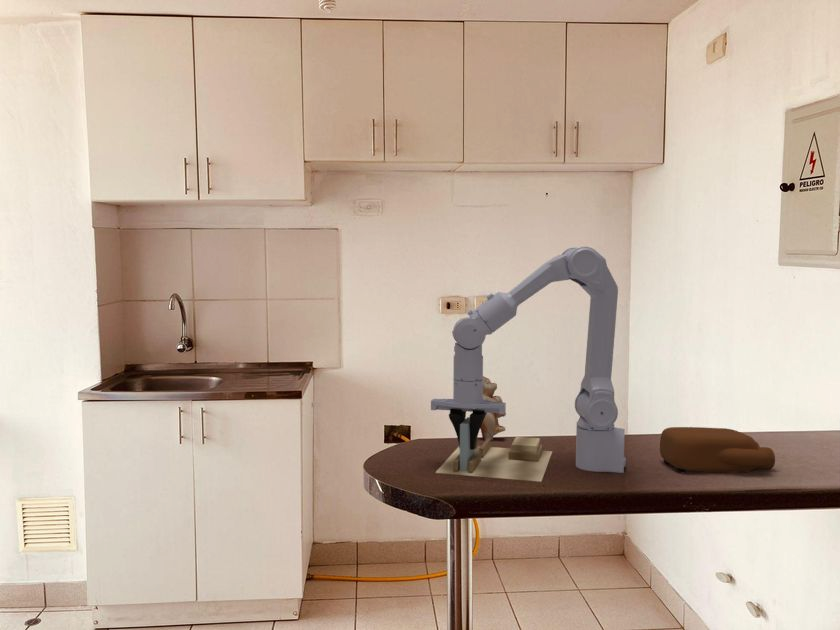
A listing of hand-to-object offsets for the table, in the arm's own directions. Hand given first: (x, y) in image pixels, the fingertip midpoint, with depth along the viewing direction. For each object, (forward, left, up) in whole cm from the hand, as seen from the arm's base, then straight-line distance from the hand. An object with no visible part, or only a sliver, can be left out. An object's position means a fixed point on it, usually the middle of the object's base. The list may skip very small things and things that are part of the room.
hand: (467, 448), depth 140 cm
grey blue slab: (0, 0, -4) cm, 4 cm away
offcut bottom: (-10, -11, -4) cm, 15 cm away
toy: (-47, -17, -5) cm, 51 cm away
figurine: (0, -24, -5) cm, 24 cm away
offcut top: (-10, -11, -2) cm, 15 cm away
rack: (-5, -5, -5) cm, 8 cm away
